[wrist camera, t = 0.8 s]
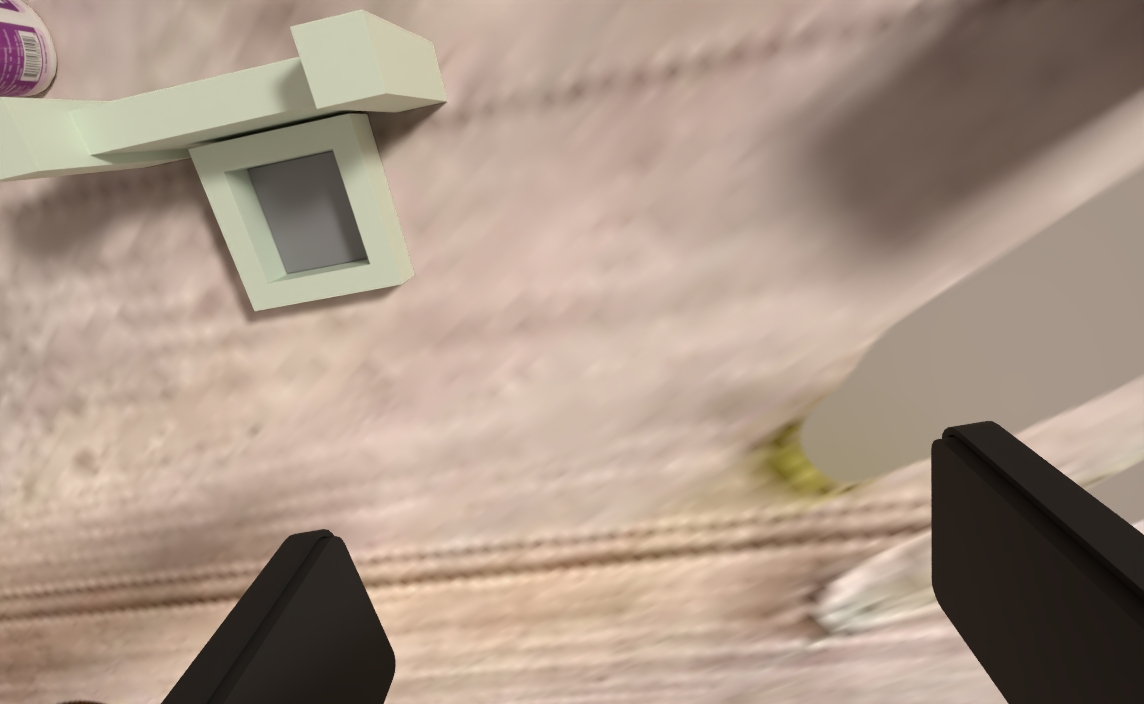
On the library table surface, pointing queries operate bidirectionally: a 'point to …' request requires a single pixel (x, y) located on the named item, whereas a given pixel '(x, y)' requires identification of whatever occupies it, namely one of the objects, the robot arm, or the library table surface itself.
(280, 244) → the grey holder stand
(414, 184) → the library table surface
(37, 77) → the pill bottle
